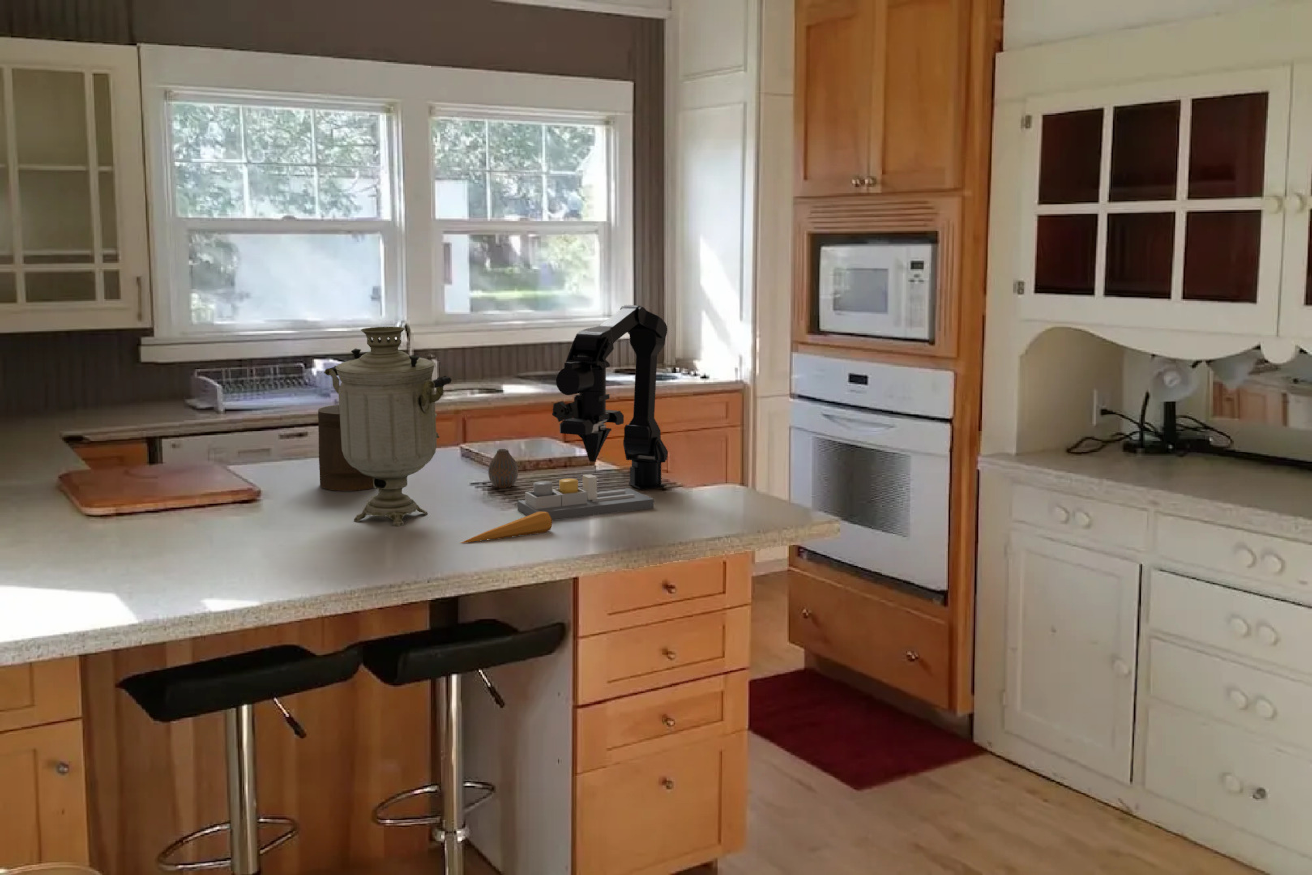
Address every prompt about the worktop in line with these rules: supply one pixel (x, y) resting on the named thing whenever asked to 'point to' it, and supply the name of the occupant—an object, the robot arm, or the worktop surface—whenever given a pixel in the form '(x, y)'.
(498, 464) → the vase
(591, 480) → the slider paddle
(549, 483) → the grey button
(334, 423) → the wooden container
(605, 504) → the panel
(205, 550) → the worktop surface
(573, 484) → the amber button
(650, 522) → the worktop surface
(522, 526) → the carrot
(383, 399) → the samovar
